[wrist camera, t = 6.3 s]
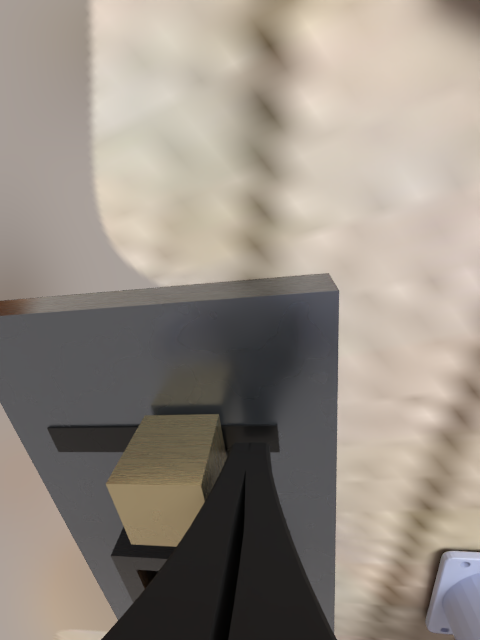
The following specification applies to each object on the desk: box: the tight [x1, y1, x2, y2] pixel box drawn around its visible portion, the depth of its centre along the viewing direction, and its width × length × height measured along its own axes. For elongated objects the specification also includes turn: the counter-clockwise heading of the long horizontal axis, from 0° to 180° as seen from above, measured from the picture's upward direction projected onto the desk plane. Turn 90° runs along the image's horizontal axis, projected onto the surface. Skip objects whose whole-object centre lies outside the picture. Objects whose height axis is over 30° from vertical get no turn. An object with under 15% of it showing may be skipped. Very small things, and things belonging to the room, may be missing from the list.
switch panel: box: [0, 273, 339, 633], centre depth 16 cm, size 14×27×4 cm, turn 7°
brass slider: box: [106, 414, 227, 547], centre depth 11 cm, size 3×3×3 cm
